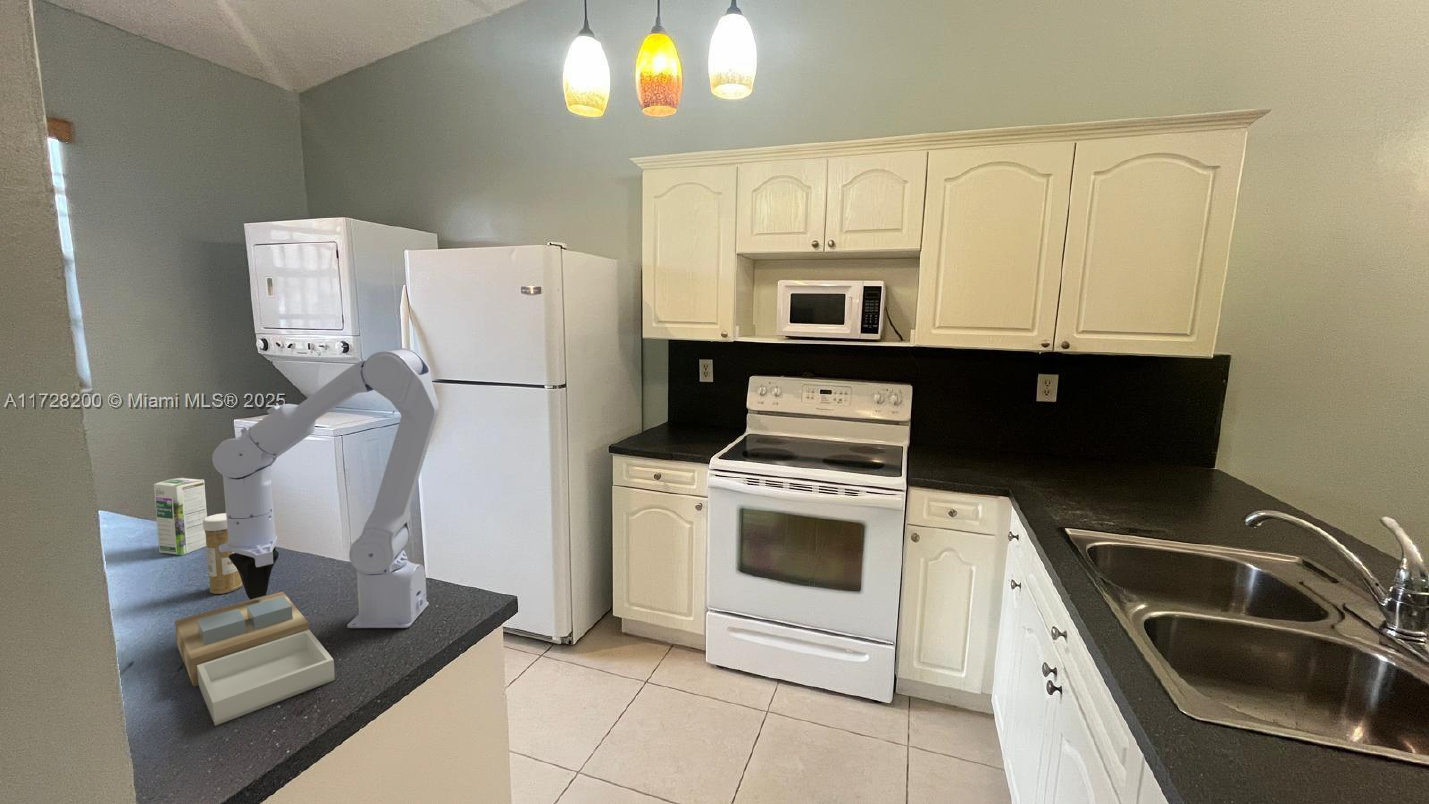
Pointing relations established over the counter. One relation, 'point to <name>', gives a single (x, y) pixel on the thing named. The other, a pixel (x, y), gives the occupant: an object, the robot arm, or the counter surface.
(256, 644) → the maple bench
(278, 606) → the slate tile
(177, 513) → the syrup box
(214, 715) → the tray
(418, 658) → the counter surface
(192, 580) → the counter surface
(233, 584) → the sprinkles bottle
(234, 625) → the slate tile
